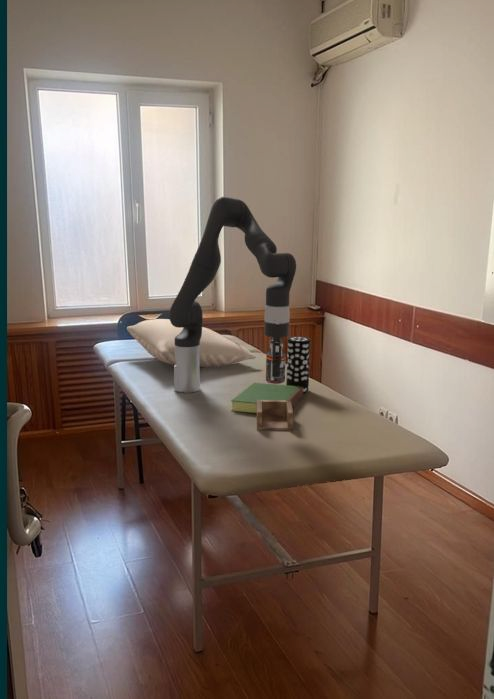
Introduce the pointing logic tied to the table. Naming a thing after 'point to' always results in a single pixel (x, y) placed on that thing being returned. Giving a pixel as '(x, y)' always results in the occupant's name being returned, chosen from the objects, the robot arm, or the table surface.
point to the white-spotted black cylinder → (298, 362)
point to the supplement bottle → (269, 369)
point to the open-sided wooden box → (274, 415)
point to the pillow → (161, 344)
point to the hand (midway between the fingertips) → (275, 373)
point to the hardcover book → (265, 396)
